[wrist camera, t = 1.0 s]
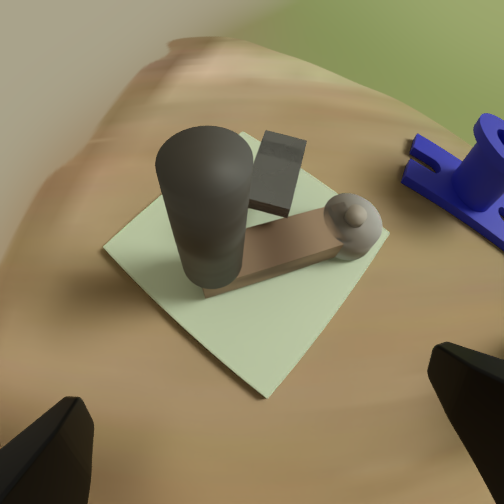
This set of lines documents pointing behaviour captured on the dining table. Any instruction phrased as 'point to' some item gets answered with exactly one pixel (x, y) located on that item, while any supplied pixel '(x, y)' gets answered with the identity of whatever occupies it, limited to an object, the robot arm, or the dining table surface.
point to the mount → (465, 178)
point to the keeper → (276, 173)
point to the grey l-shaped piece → (235, 216)
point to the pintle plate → (243, 291)
